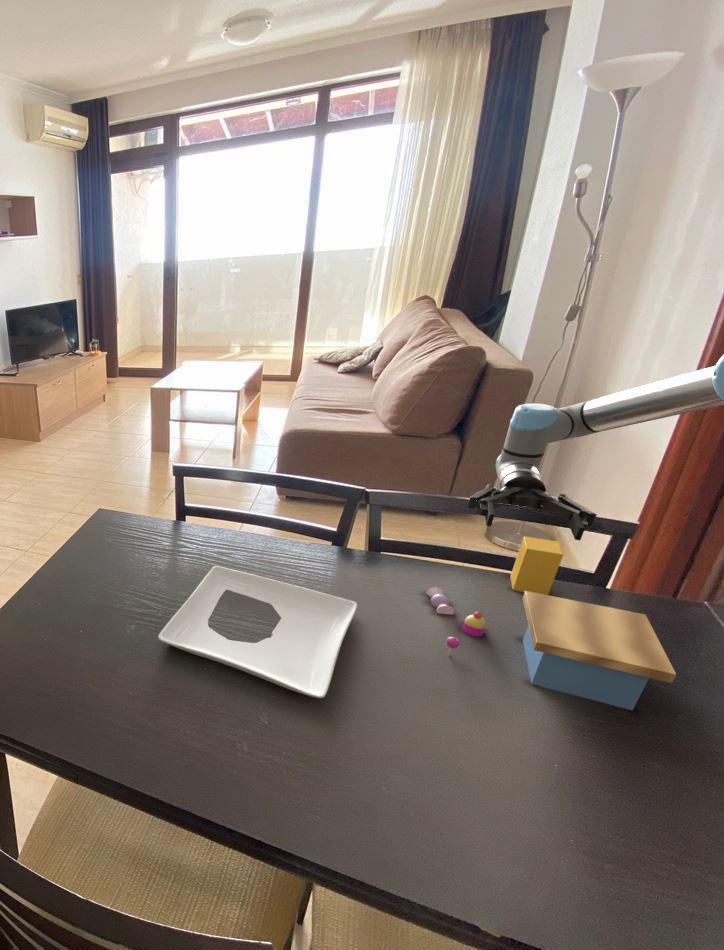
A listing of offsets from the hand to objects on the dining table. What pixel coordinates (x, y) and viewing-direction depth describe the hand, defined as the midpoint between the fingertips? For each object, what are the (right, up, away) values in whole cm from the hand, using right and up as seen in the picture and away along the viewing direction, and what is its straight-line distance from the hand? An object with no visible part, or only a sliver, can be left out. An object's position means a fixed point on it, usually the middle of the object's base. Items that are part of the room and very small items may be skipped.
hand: (533, 527), depth 105 cm
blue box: (-15, -22, -23) cm, 35 cm away
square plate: (-58, -19, -9) cm, 61 cm away
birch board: (-15, -15, -26) cm, 34 cm away
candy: (-25, -18, -11) cm, 32 cm away
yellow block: (-4, -12, -3) cm, 13 cm away
